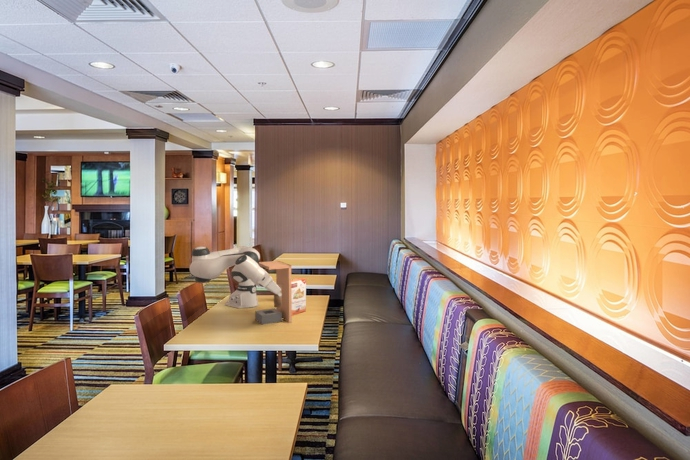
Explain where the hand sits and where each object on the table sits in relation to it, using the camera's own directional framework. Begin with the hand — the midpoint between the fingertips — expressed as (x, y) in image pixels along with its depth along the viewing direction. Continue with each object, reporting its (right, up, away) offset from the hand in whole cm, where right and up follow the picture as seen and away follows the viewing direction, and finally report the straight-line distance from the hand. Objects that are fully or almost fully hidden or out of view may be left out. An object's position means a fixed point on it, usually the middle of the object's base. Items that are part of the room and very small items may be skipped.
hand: (278, 294), depth 229 cm
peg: (-1, -7, 0) cm, 7 cm away
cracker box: (+5, -16, +30) cm, 35 cm away
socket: (-8, -17, +14) cm, 24 cm away
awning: (-5, -17, +16) cm, 24 cm away
